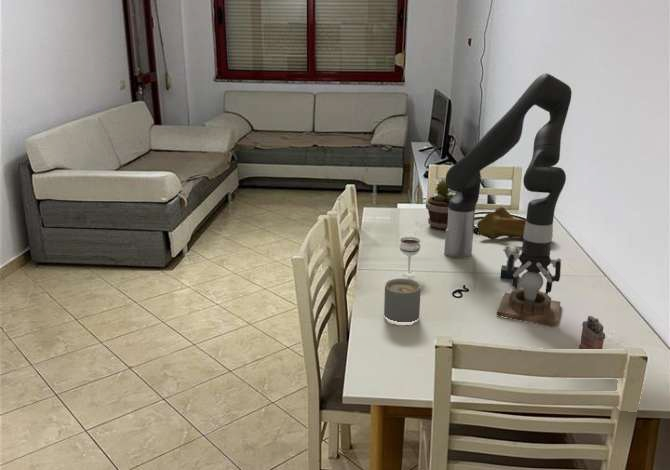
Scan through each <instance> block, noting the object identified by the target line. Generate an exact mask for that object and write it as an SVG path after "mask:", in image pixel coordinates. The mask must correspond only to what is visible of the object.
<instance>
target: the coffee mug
mask: <svg viewBox="0 0 670 470" xmlns="http://www.w3.org/2000/svg"><path fill="white" fill-rule="evenodd" d="M421 286H422V285H421V284H420V283H419V282H418V281H416V280H414V279H411V278H401V277H399V278H394V279H389V280H387V281H386V282H385V283H384V298H383V300H384V302H383V304H384V305H383V309H384V310H383V316H384V315H385V317H387V318H388V319H390V320H393V321H397V322H412V321H415V320H417V319H418V318H419V319H420V310H421V309H420V308H421V307H420V306H421V292H422V291H421V290H422V289H421V288H422V287H421Z"/></svg>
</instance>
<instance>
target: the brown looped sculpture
mask: <svg viewBox="0 0 670 470" xmlns="http://www.w3.org/2000/svg"><path fill="white" fill-rule="evenodd" d="M525 224H526V219H520V218H515V217H514V216H513V215H511V214H510V212H508V210H506V208H504V207H503V206H500V207H498V208H496V209H495V211H492V212H488V213H487V214H485V216H484V217H483V218H482V219H480V220H478V222H477V224H476V227H477V229H478V233H479V235H481V236H482V237H486V238H487V239H490V240H495V239H498V238H500V237H508V238H523V236H524V228H525Z"/></svg>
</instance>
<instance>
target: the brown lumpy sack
mask: <svg viewBox="0 0 670 470" xmlns="http://www.w3.org/2000/svg"><path fill="white" fill-rule="evenodd" d="M580 335H581V336H580V341H579V346H578V350H579V349H602V350H603V348H604V347H603V345H604V340H605V339H606V333H604V325H603V324H602V323H600V321H599V318H595V317H594V316H593V315H587V320H585V321H582V330H581V334H580Z"/></svg>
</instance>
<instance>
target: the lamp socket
mask: <svg viewBox="0 0 670 470" xmlns="http://www.w3.org/2000/svg"><path fill="white" fill-rule="evenodd" d="M524 296H525V294H524V289H523V288H517V289H514V290H512V291H510V292H504V293H503V296H502V298H501V300H500V304H499V306H498V308H497V311H496V316H497V315H498V316H503V317H507V318H506V319H509V318H512V319H511V320H514V319H516V321H519V320H521V321H520V322H525V321H527V323H530V322H532V323H531V324H536V323H538V324H537V325H541V324H542V326H547V325H548V327H552V326H553V327H554V328H557V323H558V319H557V318H559V313H560V308H561V301H559V300H554V299H552V297H550V295H549V294H545V292H542V291H541V290H539V291H538V293H537V295H536V299H535V301H534V303H527V302H525V297H524ZM498 316H497V317H498ZM503 317H502V318H503Z"/></svg>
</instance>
